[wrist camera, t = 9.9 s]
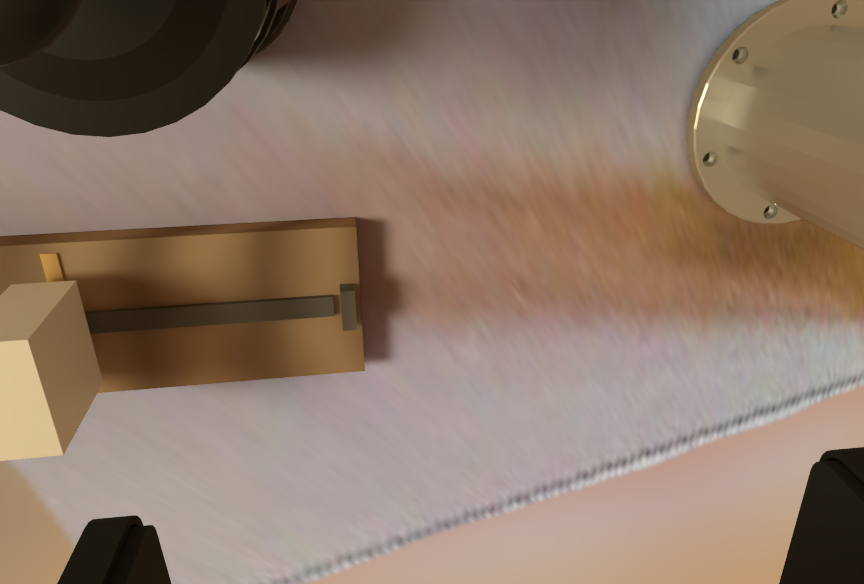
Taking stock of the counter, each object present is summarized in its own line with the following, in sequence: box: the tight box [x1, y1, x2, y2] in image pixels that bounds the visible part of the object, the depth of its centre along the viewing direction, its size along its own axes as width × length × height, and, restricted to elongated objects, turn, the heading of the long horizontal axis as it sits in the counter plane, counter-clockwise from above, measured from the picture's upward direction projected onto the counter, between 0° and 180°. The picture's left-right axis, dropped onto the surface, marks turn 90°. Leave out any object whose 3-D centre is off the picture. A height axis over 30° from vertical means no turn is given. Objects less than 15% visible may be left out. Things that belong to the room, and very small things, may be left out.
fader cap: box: [0, 280, 103, 461], centre depth 32 cm, size 3×6×7 cm, turn 1°
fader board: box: [0, 217, 365, 393], centre depth 36 cm, size 22×9×2 cm, turn 91°
